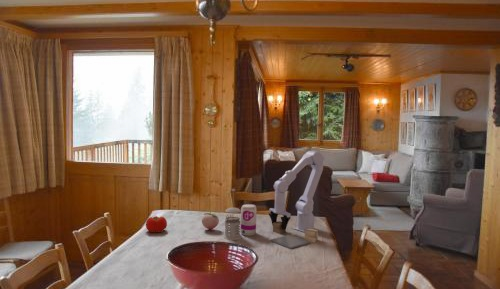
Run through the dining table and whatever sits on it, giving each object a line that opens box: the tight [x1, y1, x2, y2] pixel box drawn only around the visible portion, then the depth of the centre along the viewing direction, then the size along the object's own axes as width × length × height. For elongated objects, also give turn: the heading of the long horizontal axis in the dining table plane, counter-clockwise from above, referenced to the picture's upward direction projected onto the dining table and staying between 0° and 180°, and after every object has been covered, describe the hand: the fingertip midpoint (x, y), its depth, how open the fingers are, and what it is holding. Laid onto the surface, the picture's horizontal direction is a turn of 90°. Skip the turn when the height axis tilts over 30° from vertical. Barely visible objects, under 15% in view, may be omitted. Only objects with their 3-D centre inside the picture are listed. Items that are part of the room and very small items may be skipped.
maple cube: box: [304, 229, 319, 243], centre depth 189 cm, size 5×5×5 cm
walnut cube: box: [272, 220, 287, 234], centre depth 203 cm, size 5×5×5 cm
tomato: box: [145, 215, 168, 233], centre depth 198 cm, size 11×11×8 cm
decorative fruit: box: [201, 211, 220, 231], centre depth 202 cm, size 9×8×10 cm
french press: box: [222, 188, 243, 241], centre depth 190 cm, size 10×12×25 cm
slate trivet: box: [269, 234, 311, 250], centre depth 185 cm, size 14×14×1 cm
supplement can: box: [240, 203, 258, 237], centre depth 197 cm, size 8×8×15 cm
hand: (279, 227), depth 203 cm, fingers open, 7 cm apart
